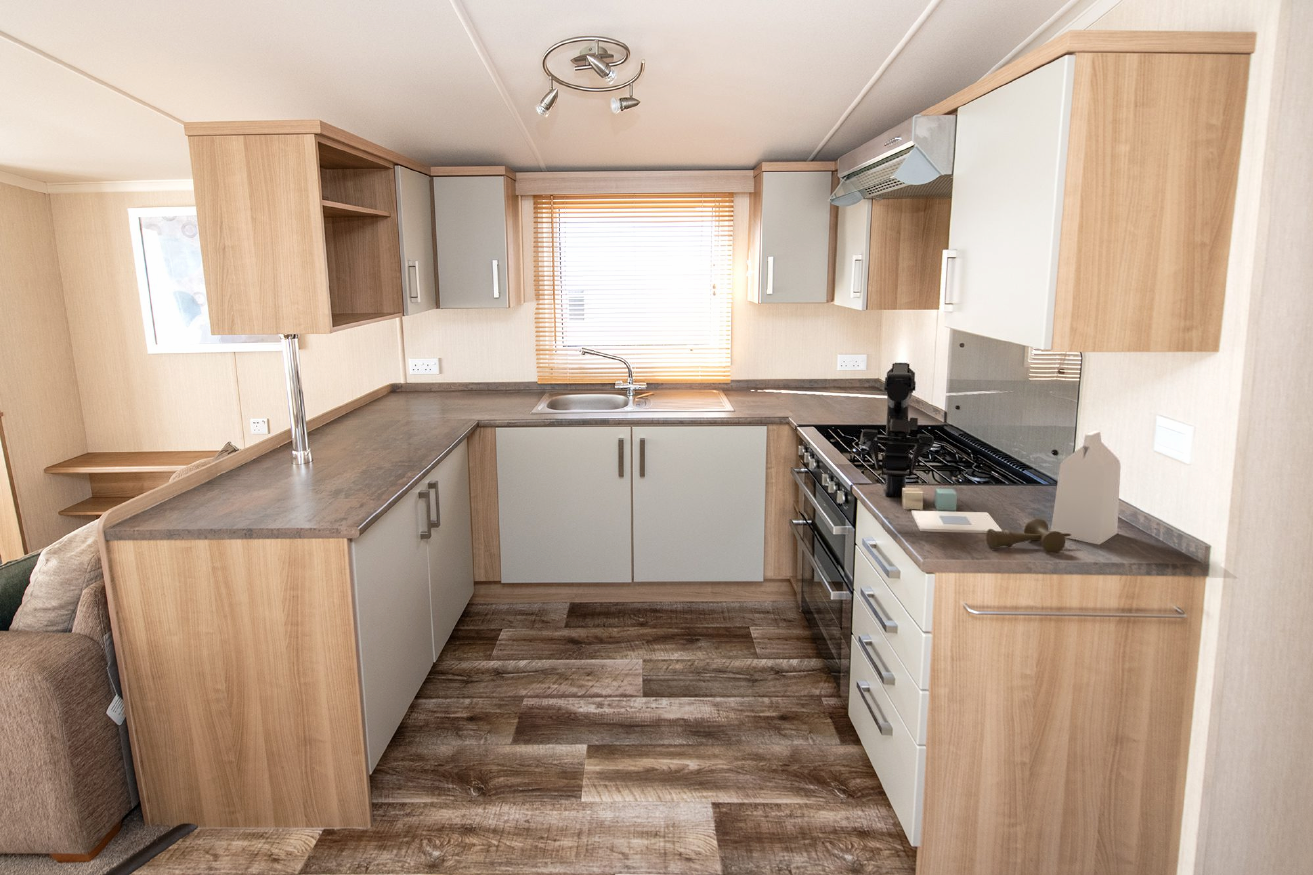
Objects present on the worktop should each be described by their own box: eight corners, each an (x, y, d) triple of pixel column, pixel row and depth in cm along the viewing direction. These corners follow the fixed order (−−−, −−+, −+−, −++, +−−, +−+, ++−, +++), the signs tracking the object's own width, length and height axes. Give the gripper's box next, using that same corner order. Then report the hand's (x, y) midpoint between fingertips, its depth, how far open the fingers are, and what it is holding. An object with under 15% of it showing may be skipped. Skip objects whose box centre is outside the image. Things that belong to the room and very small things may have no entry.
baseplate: (911, 512, 223) (911, 510, 223) (987, 514, 220) (987, 512, 220) (920, 531, 208) (920, 528, 208) (1002, 533, 204) (1002, 530, 204)
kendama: (979, 544, 199) (1059, 539, 199) (997, 558, 190) (1080, 553, 190) (980, 521, 198) (1061, 516, 198) (998, 534, 188) (1082, 529, 189)
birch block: (901, 504, 232) (902, 487, 231) (919, 505, 231) (920, 488, 230) (904, 509, 227) (904, 492, 226) (922, 510, 226) (923, 492, 225)
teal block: (934, 505, 230) (935, 488, 229) (952, 505, 229) (953, 488, 228) (937, 510, 225) (938, 493, 224) (956, 510, 225) (956, 493, 224)
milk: (1069, 523, 211) (1077, 426, 206) (1117, 533, 203) (1126, 432, 198) (1050, 534, 203) (1058, 433, 198) (1099, 544, 195) (1109, 439, 190)
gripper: (866, 402, 216) (863, 457, 211) (938, 408, 213) (937, 464, 208) (861, 416, 226) (858, 469, 221) (930, 422, 223) (928, 476, 218)
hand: (894, 469), depth 217 cm, fingers open, 9 cm apart
